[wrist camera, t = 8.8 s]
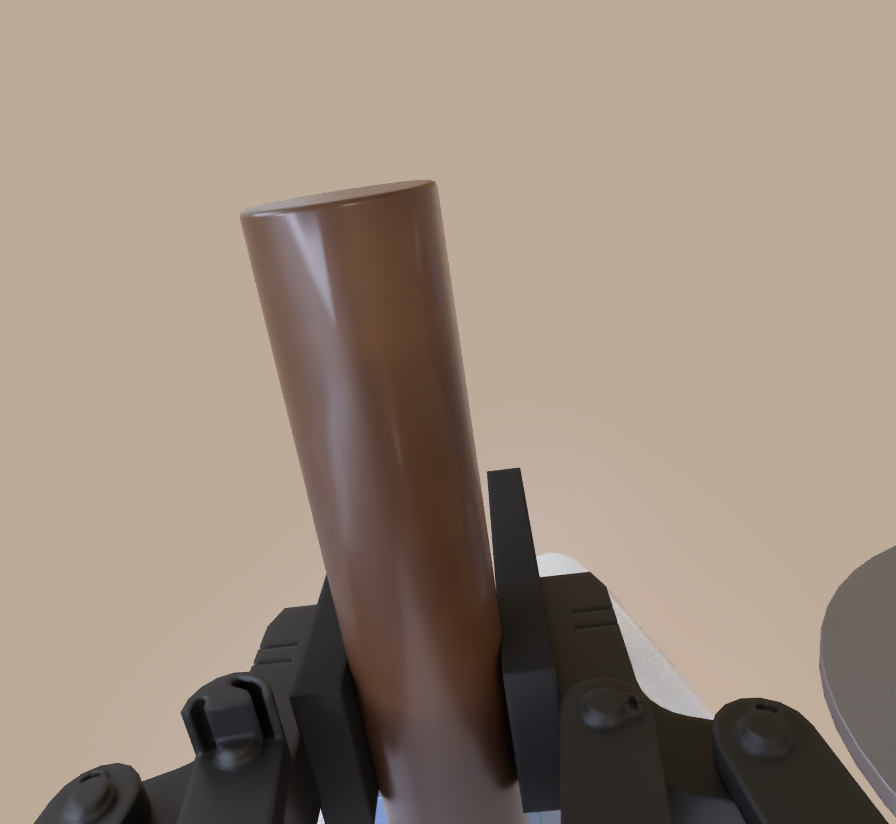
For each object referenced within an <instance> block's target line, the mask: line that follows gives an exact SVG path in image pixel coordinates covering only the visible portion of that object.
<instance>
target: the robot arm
mask: <svg viewBox="0 0 896 824" xmlns="http://www.w3.org/2000/svg"><path fill="white" fill-rule="evenodd" d="M487 479H488V491H489V504H490V517H491V530H492V543H493V556H494V567H495V581H496V595H497V602H498V609H499V616H500V623H501V629H502V637H501V642H500V646H501V659H502V672H503V680H504V687H505V694H506V700H507V707H508V714H509V721H510V727H511V734H512V741H513V748H514V754H515V761H516V768H517V775H518V781H519V788H520V795H521V802H522V808H523V813H534V812H545V811H556V810H561V824H888V822H887V821H886V820H885V818H884V817H883V816H882V814H881V813H880V812H879V811H878V809H877V808H876V807H875V805H874V804H873V803H872V802H871V800H870V799H869V798H868V796H867V795H866V794H865V792H864V791H863V790H862V789H861V787H860V786H859V785H858V783H857V782H856V781H855V779H854V778H853V777H852V776H851V774H850V773H849V772H848V770H847V769H846V768H845V766H844V765H843V764H842V762H841V761H840V760H839V759H838V757H837V756H836V755H835V753H834V752H833V751H832V749H831V748H830V747H829V746H828V744H827V743H826V742H825V740H824V739H823V738H822V736H821V735H820V734H819V733H818V731H817V730H816V729H815V727H814V726H813V725H812V724H811V723H810V722H809V721H808V720H807V719H806V718H804V716H803V715H801V714H800V713H799V712H798V711H796V710H794V709H792V708H790V707H788V706H786V705H784V704H782V703H780V702H777V701H772V700H768V699H763V698H742V699H738V700H736V701H733V702H730V703H728V704H725V705H724V706H723V707H722V708H721V709H720V710H719V711H718V712H717V713H716V714H715V717H714V720H709V719H703V718H696V717H690V716H686V715H681V714H677V713H674V712H671V711H669V710H667V709H665V708H662V707H660V706H659V705H657V704H656V703H654V702H653V701H652V700H650V699H649V698H648V697H647V696H646V695H645V694H644V692H643V691H642V690H641V688H640V686H639V684H638V682H637V680H636V677H635V674H634V671H633V668H632V665H631V662H630V659H629V656H628V653H627V650H626V646H625V643H624V640H623V637H622V634H621V631H620V628H619V625H618V623H617V619H616V616H615V612H614V609H613V608H612V603H611V600H610V597H609V594H608V591H607V588H606V586H605V585H604V584H603V583H602V582H601V581H599V580H598V579H597V578H596V577H595V576H594V575H593V574H592V573H591V572H584V573H575V574H566V575H557V576H548V577H539V571H538V566H537V560H536V554H535V549H534V543H533V538H532V532H531V526H530V521H529V515H528V510H527V504H526V499H525V493H524V487H523V482H522V476H521V470H520V468H513V469H504V470H496V471H488V472H487ZM181 715H182V718H183V720H184V723H185V726H186V729H187V731H188V734H189V737H190V740H191V743H192V745H193V748H194V751H195V754H196V757H195V761H193V762H191V763H189V764H187V765H185V766H183V767H181V768H178V769H176V770H173V771H170V772H167V773H164V774H162V775H159V776H156V777H153V778H151V779H148V780H145V781H143V782H142V781H141V778H140V776H139V774H138V773H137V772H136V771H135V770H134V769H133V768H132V766H129V765H124V764H120V763H115V764H108V765H102V766H99V767H97V768H94V769H92V770H90V771H87V772H85V773H83V774H81V775H80V776H78V777H77V778H76V779H74V780H73V781H71V782H70V783H68V784H67V785H65V786H64V787H63V788H62V789H61V790H60V792H59V793H58V794H57V795H56V796H55V797H54V798H53V799H52V800H51V801H50V803H49V804H48V805H47V807H46V808H45V809H44V811H43V812H42V813H41V815H40V816H39V817H38V819H37V820H36V821H35V823H34V824H317V822H318V817H319V812H320V808H321V811H322V815H323V818H324V822H325V824H375V817H376V809H377V801H378V793H379V786H378V782H377V778H376V774H375V770H374V766H373V762H372V758H371V754H370V749H369V745H368V741H367V737H366V733H365V729H364V725H363V721H362V717H361V713H360V708H359V704H358V700H357V696H356V692H355V688H354V684H353V680H352V676H351V672H350V667H349V663H348V659H347V655H346V651H345V647H344V643H343V639H342V635H341V631H340V626H339V622H338V618H337V614H336V610H335V606H334V602H333V598H332V594H331V590H330V585H329V581H328V577H327V574H326V577H325V581H324V584H323V587H322V591H321V594H320V597H319V600H318V604H317V605H309V606H300V607H291V608H285V609H284V610H283V611H282V612H281V613H280V614H279V615H278V616H277V617H276V618H275V619H274V620H273V621H272V623H270V625H269V626H268V627H267V630H266V632H265V635H264V637H263V640H262V642H261V645H260V650H258V653H257V655H256V658H255V660H254V666H252V668H251V670H250V672H239V673H232V674H229V675H226V676H223V677H219V678H216V679H215V680H213V681H212V682H210V683H208V684H206V685H204V686H203V687H201V688H200V689H199V690H198V691H197V692H196V693H195V694H194V695H192V697H190V698H189V699H188V701H187V703H186V704H185V706H184V708H183V709H182V711H181Z"/></svg>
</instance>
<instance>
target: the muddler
mask: <svg viewBox="0 0 896 824" xmlns="http://www.w3.org/2000/svg"><path fill="white" fill-rule="evenodd" d="M240 220H241V224H242V228H243V233H244V237H245V241H246V245H247V249H248V253H249V257H250V261H251V266H252V270H253V274H254V278H255V282H256V286H257V290H258V294H259V298H260V302H261V306H262V310H263V315H264V319H265V323H266V327H267V331H268V335H269V339H270V343H271V348H272V351H273V355H274V360H275V364H276V368H277V372H278V376H279V380H280V384H281V389H282V393H283V397H284V401H285V405H286V409H287V413H288V417H289V421H290V425H291V429H292V434H293V438H294V442H295V446H296V450H297V454H298V458H299V462H300V466H301V471H302V474H303V479H304V483H305V487H306V491H307V495H308V499H309V503H310V507H311V511H312V515H313V520H314V524H315V528H316V532H317V536H318V540H319V544H320V549H321V553H322V556H323V560H324V565H325V569H326V573H327V577H328V581H329V585H330V590H331V594H332V598H333V602H334V606H335V610H336V614H337V618H338V622H339V626H340V631H341V635H342V639H343V643H344V647H345V651H346V655H347V659H348V663H349V667H350V672H351V676H352V680H353V684H354V688H355V692H356V696H357V700H358V704H359V708H360V713H361V717H362V721H363V725H364V729H365V733H366V737H367V741H368V745H369V749H370V754H371V758H372V762H373V766H374V770H375V774H376V778H377V782H378V786H379V790H380V795H381V799H382V803H383V807H384V811H385V815H386V819H387V823H388V824H530V823H529V816H528V813H523V808H522V802H521V795H520V788H519V781H518V775H517V768H516V761H515V754H514V748H513V741H512V734H511V727H510V721H509V714H508V707H507V700H506V694H505V687H504V680H503V672H502V659H501V646H500V642H501V637H502V629H501V623H500V616H499V609H498V602H497V595H496V588H495V581H494V575H493V567H492V561H491V553H490V547H489V540H488V533H487V526H486V519H485V512H484V505H483V498H482V491H481V484H480V477H479V470H478V463H477V457H476V450H475V443H474V436H473V429H472V422H471V416H470V408H469V401H468V394H467V387H466V381H465V374H464V367H463V360H462V354H461V346H460V339H459V333H458V326H457V318H456V311H455V305H454V298H453V291H452V284H451V277H450V270H449V263H448V256H447V249H446V242H445V235H444V229H443V222H442V215H441V208H440V201H439V194H438V187H437V185H436V183H435V181H431V180H415V181H405V182H396V183H389V184H381V185H374V186H367V187H360V188H353V189H347V190H341V191H335V192H328V193H322V194H316V195H310V196H305V197H299V198H295V199H289V200H284V201H279V202H274V203H269V204H264V205H260V206H256V207H252V208H249V209H246V210H245V211H243V212H241V213H240Z"/></svg>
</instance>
